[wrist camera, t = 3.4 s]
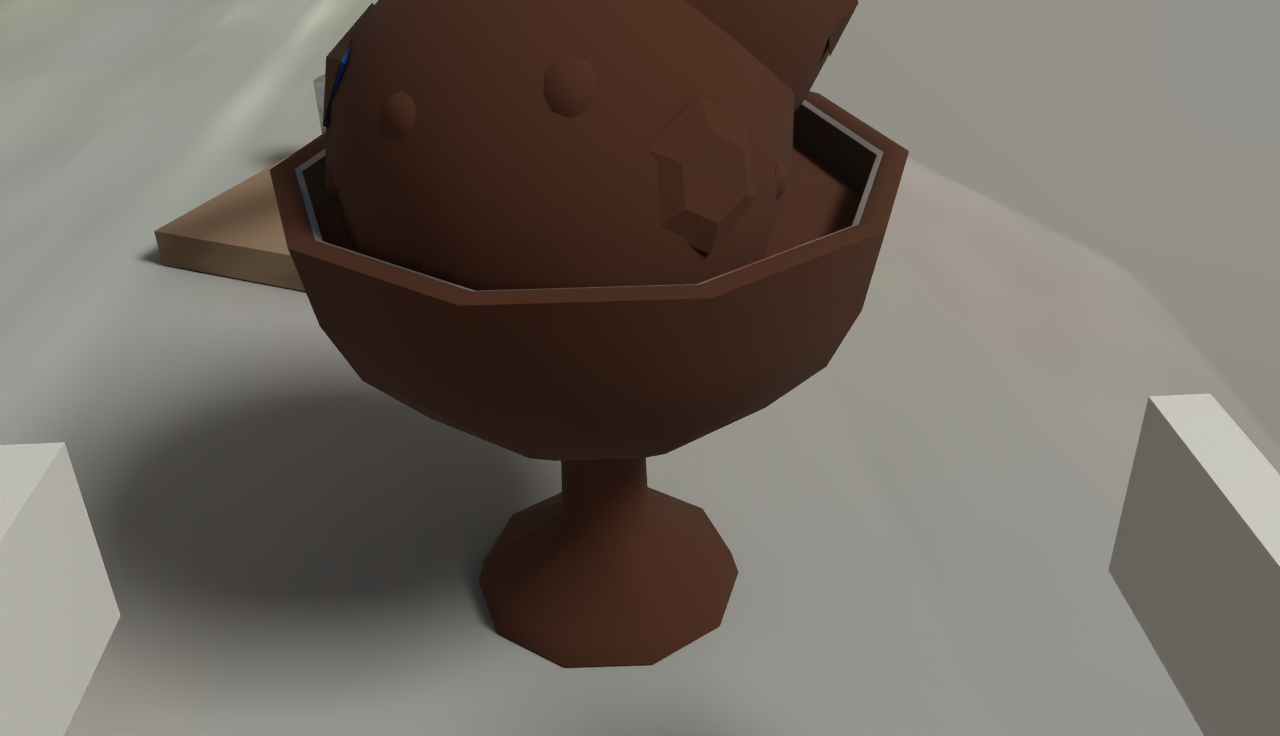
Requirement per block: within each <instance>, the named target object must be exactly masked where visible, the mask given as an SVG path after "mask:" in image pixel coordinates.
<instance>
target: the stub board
mask: <svg viewBox="0 0 1280 736" xmlns="http://www.w3.org/2000/svg"><path fill="white" fill-rule="evenodd" d="M314 88H315V94H316V100H317V106H318V112H319V118H320V124H321V131H322V134H324V133H325V132H326V127H324V126H323V112H324V93H325V75H322V76H320V77H318V78H316V79H315V80H314ZM293 154H294V153H293ZM290 156H291V155H290ZM288 157H289V156H288ZM288 157H286V158H288ZM286 158H285V159H286ZM285 159H283V160H285ZM283 160H281V161H279V162H277V163H276V164H274V165H272V166H270V167H268V168H267V169H265V170H263V171H261V172H259V173H258V174H256V175H254V176H252V177H251V178H249V179H247V180H245V181H243V182H242V183H240V184H238V185H236V186H234V187H233V188H231V189H229V190H227V191H225V192H224V193H222V194H220V195H218V196H217V197H215V198H213V199H211V200H209V201H208V202H206V203H204V204H202V205H200V206H199V207H197V208H195V209H193V210H191V211H190V212H188V213H186V214H184V215H183V216H181V217H179V218H177V219H175V220H174V221H172V222H170V223H168V224H166V225H165V226H163V227H161V228H159V229H157V230H156V231H154V232H155V236H156V240H157V244H158V248H159V252H160V256H161V260H162V264H163V265H168V266H173V267H178V268H184V269H189V270H194V271H200V272H205V273H210V274H216V275H221V276H226V277H232V278H237V279H242V280H248V281H253V282H258V283H264V284H269V285H274V286H280V287H285V288H290V289H296V290H301V291H305V289H304V286H303V284H302V281H301V279H300V277H299V274H298V272H297V269H296V267H295V265H294V262H293V260H292V257H291V255H290V253H289V250H288V247H287V243H286V239H285V234H284V230H283V226H282V222H281V217H280V213H279V209H278V205H277V200H276V196H275V192H274V187H273V183H272V179H271V175H270V169H271V168H273V167H274V166H276V165H277V164H279V163H280V162H282V161H283Z"/></svg>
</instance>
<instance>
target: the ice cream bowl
mask: <svg viewBox="0 0 1280 736" xmlns="http://www.w3.org/2000/svg"><path fill="white" fill-rule="evenodd" d="M857 5H858V0H379V1H378V2H377V3H376V4H375V5H374V4H373V3H372V4H371V5H370V6H369V7H368V8H367V10H366V11H365V12H364V13H363V14H362V15H361V17H360V18H359V19H358V20H357V21H356V23H355V24H354V25H353V26H352V27H351V28H350V30H349V31H348V32H347V33H346V34H345V36H344V37H343V38H342V39H341V40H340V41H339V43H338V44H337V45H336V46H335V47H334V48H333V50H332V51H331V52H330V53H329V54H328V56H327V57H326V74H325V93H324V112H323V126H324V127H326V132H325V133H324V134H322V135H321V136H319V137H318V138H316V139H315V140H313V141H312V142H310V143H309V144H307V145H306V146H304V147H303V148H301V149H300V150H298V151H297V152H295V153H294V154H292V155H291V156H289V157H288V158H286V159H285V160H283V161H282V162H280V163H279V164H277V165H276V166H274V167H273V168H271V169H270V175H271V179H272V183H273V187H274V192H275V196H276V200H277V205H278V209H279V213H280V217H281V222H282V226H283V230H284V234H285V239H286V243H287V247H288V250H289V253H290V255H291V257H292V260H293V262H294V265H295V267H296V269H297V272H298V274H299V277H300V279H301V281H302V284H303V286H304V289H305V291H306V293H307V296H308V298H309V301H310V303H311V306H312V308H313V310H314V313H315V315H316V318H317V320H318V322H319V325H320V327H321V328H322V330H323V331H324V332H325V333H326V335H327V336H328V337H329V338H330V340H331V341H332V342H333V344H334V345H335V346H336V347H337V349H338V350H339V351H340V352H341V354H342V355H343V356H344V358H345V359H346V360H347V361H348V363H349V364H350V365H351V366H352V368H353V369H354V370H355V372H356V373H357V374H358V375H359V377H360V378H361V379H362V381H364V382H366V383H368V384H370V385H371V386H373V387H375V388H377V389H379V390H380V391H382V392H384V393H386V394H388V395H389V396H391V397H393V398H395V399H397V400H398V401H400V402H402V403H404V404H406V405H408V406H409V407H411V408H413V409H415V410H417V411H418V412H420V413H422V414H424V415H426V416H427V417H429V418H431V419H434V420H436V421H439V422H441V423H444V424H446V425H449V426H451V427H454V428H456V429H459V430H461V431H464V432H466V433H469V434H471V435H474V436H476V437H479V438H481V439H484V440H486V441H488V442H491V443H493V444H496V445H498V446H501V447H503V448H506V449H508V450H511V451H513V452H516V453H518V454H521V455H523V456H526V457H528V458H534V459H544V460H554V461H557V460H561V469H562V492H561V493H559V494H557V495H555V496H553V497H551V498H548V499H546V500H544V501H542V502H540V503H537V504H535V505H533V506H531V507H529V508H526V509H524V510H522V511H520V512H518V513H516V514H513V515H512V517H511V519H510V520H509V522H508V523H507V525H506V527H505V528H504V530H503V531H502V533H501V535H500V536H499V538H498V539H497V541H496V543H495V544H494V546H493V547H492V549H491V551H490V552H489V554H488V555H487V557H486V559H485V560H484V564H483V567H482V571H481V574H480V578H479V582H480V585H481V588H482V591H483V594H484V596H485V599H486V602H487V605H488V608H489V610H490V613H491V616H492V619H493V621H494V624H495V627H496V630H497V633H498V634H500V635H502V636H504V637H506V638H508V639H510V640H512V641H514V642H516V643H518V644H520V645H522V646H524V647H526V648H528V649H530V650H532V651H534V652H536V653H538V654H540V655H542V656H544V657H546V658H548V659H550V660H552V661H554V662H555V663H557V664H559V665H561V666H563V667H589V666H619V665H649V664H654V663H656V662H658V661H660V660H661V659H663V658H665V657H667V656H668V655H670V654H672V653H674V652H675V651H677V650H679V649H681V648H682V647H684V646H686V645H688V644H689V643H691V642H693V641H694V640H696V639H698V638H700V637H701V636H703V635H705V634H707V633H708V632H710V631H712V630H714V629H715V628H717V627H719V626H720V624H721V621H722V618H723V615H724V612H725V609H726V606H727V603H728V601H729V598H730V595H731V592H732V589H733V586H734V583H735V580H736V577H737V574H738V570H737V567H736V565H735V562H734V559H733V557H732V554H731V552H730V550H729V549H728V547H727V546H726V544H725V543H724V541H723V539H722V538H721V536H720V535H719V533H718V532H717V530H716V529H715V527H714V526H713V524H712V523H711V521H710V520H709V518H708V516H707V515H706V513H705V512H704V510H703V509H702V508H699V507H697V506H694V505H692V504H689V503H687V502H684V501H682V500H679V499H677V498H674V497H671V496H669V495H666V494H664V493H661V492H659V491H656V490H654V489H651V488H649V487H647V473H646V457H651V456H656V455H662V454H666V453H668V452H670V451H672V450H675V449H677V448H679V447H681V446H683V445H685V444H688V443H690V442H692V441H694V440H696V439H698V438H700V437H703V436H705V435H707V434H709V433H711V432H713V431H716V430H718V429H720V428H722V427H724V426H726V425H729V424H731V423H733V422H735V421H737V420H739V419H742V418H744V417H746V416H748V415H750V414H752V413H755V412H757V411H759V410H761V409H763V408H765V407H767V406H768V405H770V404H771V403H773V402H774V401H776V400H777V399H779V398H780V397H782V396H783V395H785V394H786V393H788V392H789V391H791V390H792V389H794V388H795V387H796V386H798V385H799V384H801V383H802V382H804V381H805V380H807V379H808V378H810V377H811V376H813V375H814V374H816V373H817V372H819V371H820V370H822V369H823V368H825V367H826V366H827V364H828V363H829V361H830V360H831V358H832V356H833V355H834V353H835V352H836V350H837V349H838V347H839V345H840V344H841V342H842V341H843V339H844V337H845V336H846V334H847V333H848V331H849V330H850V328H851V326H852V325H853V323H854V322H855V320H856V319H857V317H858V315H859V314H860V312H861V311H862V308H863V304H864V301H865V298H866V294H867V291H868V288H869V284H870V281H871V278H872V274H873V271H874V268H875V264H876V261H877V258H878V255H879V251H880V248H881V245H882V241H883V238H884V235H885V231H886V228H887V224H888V221H889V218H890V214H891V211H892V207H893V204H894V200H895V197H896V194H897V190H898V187H899V183H900V180H901V176H902V173H903V170H904V166H905V163H906V159H907V156H908V151H907V150H906V149H904V148H903V147H901V146H900V145H898V144H897V143H895V142H894V141H892V140H890V139H889V138H887V137H886V136H884V135H883V134H881V133H880V132H878V131H876V130H875V129H873V128H872V127H870V126H869V125H867V124H866V123H864V122H862V121H861V120H859V119H858V118H856V117H855V116H853V115H852V114H850V113H848V112H847V111H845V110H844V109H842V108H841V107H839V106H837V105H836V104H834V103H833V102H831V101H830V100H828V99H827V98H825V97H823V96H822V95H820V94H818V93H814V92H809V90H810V88H811V87H812V85H813V83H814V81H815V79H816V77H817V75H818V74H819V72H820V70H821V68H822V66H823V64H824V63H825V61H826V59H827V57H828V55H829V53H830V55H831V53H832V52H833V50H834V48H835V46H836V44H837V42H838V40H839V38H840V37H841V35H842V33H843V31H844V29H845V27H846V25H847V23H848V22H849V20H850V18H851V16H852V14H853V12H854V10H855V8H856V6H857Z"/></svg>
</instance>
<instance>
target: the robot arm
mask: <svg viewBox="0 0 1280 736" xmlns="http://www.w3.org/2000/svg"><path fill="white" fill-rule="evenodd" d="M1109 572H1110V574H1111V575H1112V577H1113V579H1114V581H1115V582H1116V584H1117V586H1118V587H1119V589H1120V591H1121V593H1122V594H1123V596H1124V598H1125V600H1126V601H1127V603H1128V605H1129V606H1130V608H1131V610H1132V612H1133V613H1134V615H1135V617H1136V619H1137V620H1138V622H1139V624H1140V625H1141V627H1142V629H1143V631H1144V632H1145V634H1146V636H1147V637H1148V639H1149V641H1150V643H1151V644H1152V646H1153V648H1154V650H1155V651H1156V653H1157V655H1158V656H1159V658H1160V660H1161V662H1162V663H1163V665H1164V667H1165V669H1166V670H1167V672H1168V674H1169V675H1170V677H1171V679H1172V681H1173V682H1174V684H1175V686H1176V688H1177V689H1178V691H1179V693H1180V694H1181V696H1182V698H1183V700H1184V701H1185V703H1186V705H1187V707H1188V708H1189V710H1190V712H1191V713H1192V715H1193V717H1194V719H1195V720H1196V722H1197V724H1198V726H1199V727H1200V729H1201V731H1202V732H1203V734H1204V736H1280V475H1279V473H1278V472H1277V471H1276V470H1275V469H1274V468H1273V466H1272V465H1271V464H1270V463H1269V462H1268V461H1267V459H1266V458H1265V457H1264V456H1263V455H1262V453H1261V452H1260V451H1259V450H1258V449H1257V448H1256V446H1255V445H1254V444H1253V443H1252V442H1251V441H1250V439H1249V438H1248V437H1247V436H1246V435H1245V434H1244V432H1243V431H1242V430H1241V429H1240V428H1239V427H1238V425H1237V424H1236V423H1235V422H1234V421H1233V420H1232V418H1231V417H1230V416H1229V415H1228V414H1227V413H1226V411H1225V410H1224V409H1223V408H1222V407H1221V406H1220V404H1219V403H1218V402H1217V401H1216V400H1215V399H1214V397H1213V396H1212V395H1211V394H1194V395H1170V396H1149V398H1148V402H1147V406H1146V411H1145V415H1144V419H1143V424H1142V428H1141V432H1140V436H1139V441H1138V445H1137V449H1136V454H1135V458H1134V462H1133V467H1132V471H1131V475H1130V480H1129V484H1128V488H1127V492H1126V497H1125V501H1124V505H1123V510H1122V514H1121V518H1120V523H1119V527H1118V531H1117V536H1116V540H1115V544H1114V548H1113V553H1112V557H1111V561H1110V566H1109ZM119 618H120V612H119V609H118V606H117V603H116V600H115V597H114V594H113V591H112V588H111V585H110V582H109V578H108V575H107V572H106V569H105V566H104V563H103V560H102V557H101V554H100V551H99V548H98V544H97V541H96V538H95V535H94V532H93V529H92V526H91V523H90V520H89V517H88V514H87V511H86V507H85V504H84V501H83V498H82V495H81V492H80V489H79V486H78V483H77V480H76V477H75V473H74V470H73V467H72V464H71V461H70V458H69V455H68V452H67V449H66V446H65V443H64V442H61V443H37V444H14V445H0V736H64V734H65V732H66V730H67V728H68V726H69V724H70V721H71V719H72V717H73V715H74V713H75V711H76V709H77V707H78V705H79V703H80V700H81V698H82V696H83V694H84V692H85V690H86V688H87V686H88V684H89V681H90V679H91V677H92V675H93V673H94V671H95V669H96V667H97V665H98V663H99V660H100V658H101V656H102V654H103V652H104V650H105V648H106V646H107V644H108V641H109V639H110V637H111V635H112V633H113V631H114V629H115V627H116V625H117V623H118V620H119Z"/></svg>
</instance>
